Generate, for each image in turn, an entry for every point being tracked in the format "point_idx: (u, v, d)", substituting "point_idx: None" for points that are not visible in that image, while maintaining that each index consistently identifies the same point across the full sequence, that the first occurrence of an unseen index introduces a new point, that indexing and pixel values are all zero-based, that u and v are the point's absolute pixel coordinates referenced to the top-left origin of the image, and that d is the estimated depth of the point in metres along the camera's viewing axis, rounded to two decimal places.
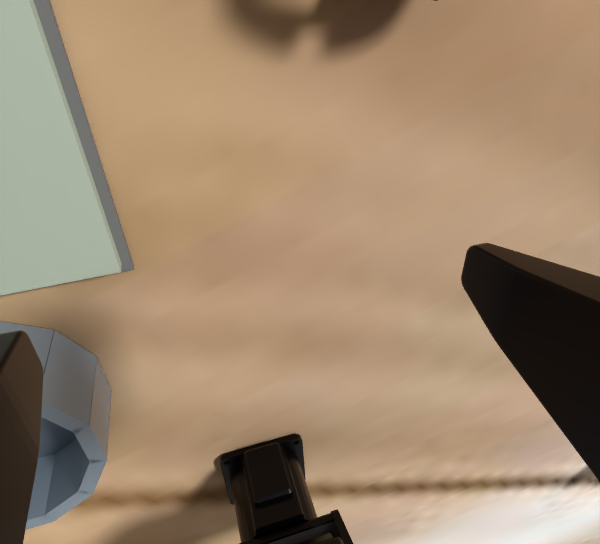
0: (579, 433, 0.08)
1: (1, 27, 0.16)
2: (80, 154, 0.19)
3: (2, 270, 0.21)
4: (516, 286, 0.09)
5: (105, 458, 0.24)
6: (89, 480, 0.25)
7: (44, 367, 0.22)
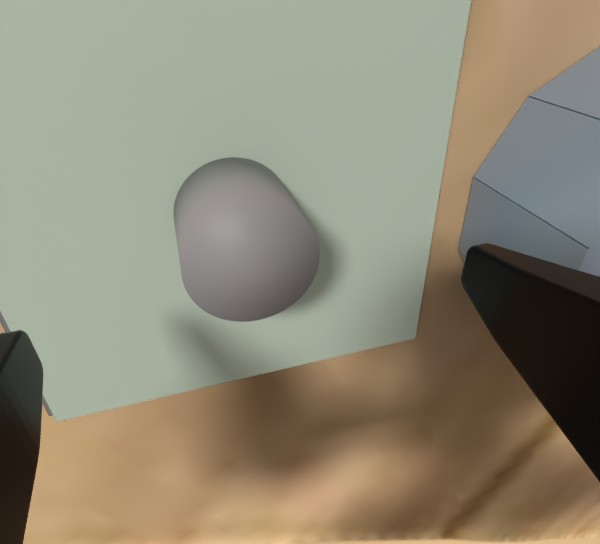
0: (579, 433, 0.08)
1: None
2: None
3: (409, 137, 0.13)
4: (516, 286, 0.09)
5: None
6: None
7: None
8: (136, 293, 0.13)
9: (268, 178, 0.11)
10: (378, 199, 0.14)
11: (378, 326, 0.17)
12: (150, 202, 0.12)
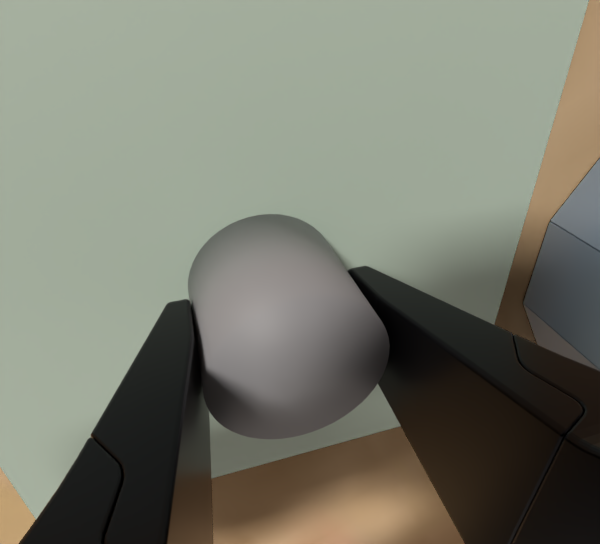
0: (438, 477, 0.07)
1: None
2: None
3: (489, 182, 0.10)
4: (379, 315, 0.08)
5: None
6: None
7: None
8: None
9: (317, 247, 0.08)
10: (444, 257, 0.11)
11: None
12: (158, 273, 0.09)
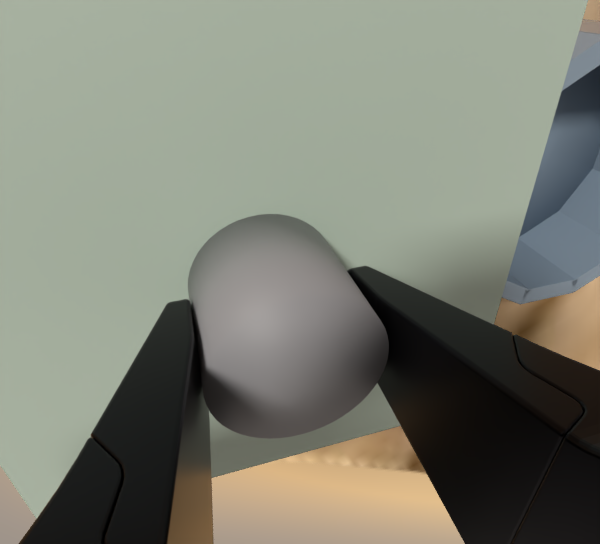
0: (438, 477, 0.07)
1: None
2: None
3: (488, 182, 0.10)
4: (379, 315, 0.08)
5: None
6: None
7: None
8: None
9: (316, 247, 0.08)
10: (443, 256, 0.11)
11: None
12: (158, 273, 0.09)
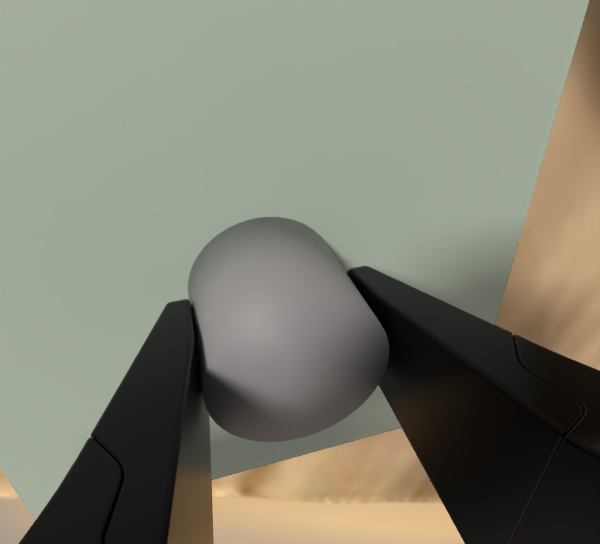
0: (438, 477, 0.07)
1: None
2: None
3: (488, 185, 0.10)
4: (379, 315, 0.08)
5: None
6: None
7: None
8: None
9: (317, 250, 0.08)
10: (443, 259, 0.11)
11: None
12: (158, 276, 0.09)
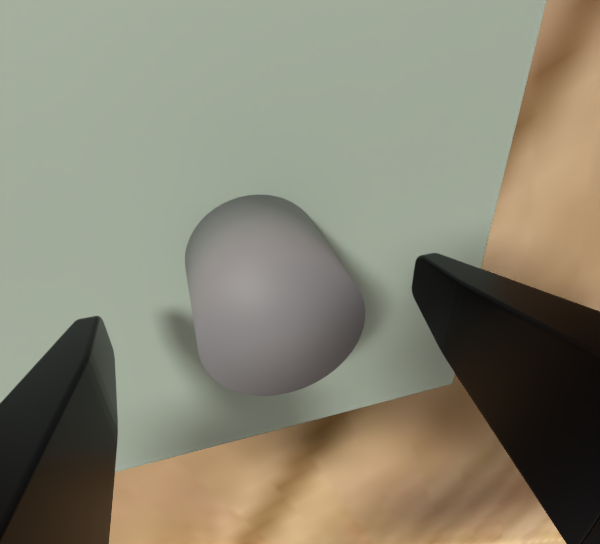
0: (519, 452, 0.08)
1: None
2: None
3: (461, 167, 0.11)
4: (458, 298, 0.08)
5: None
6: None
7: None
8: (140, 349, 0.11)
9: (301, 222, 0.09)
10: (421, 237, 0.12)
11: (413, 373, 0.15)
12: (157, 248, 0.10)
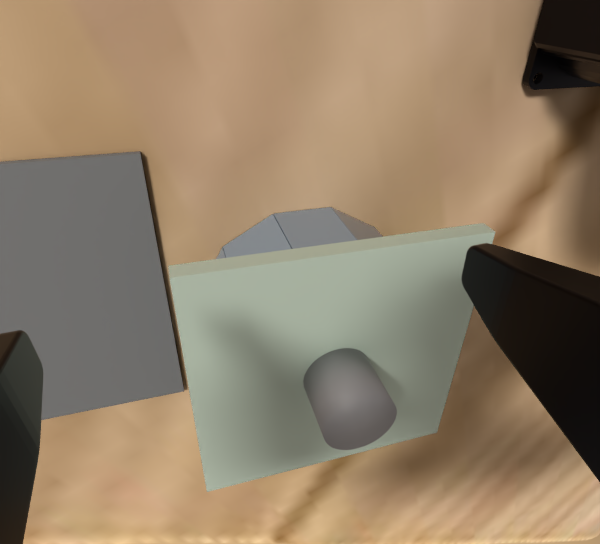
0: (579, 433, 0.08)
1: (229, 296, 0.17)
2: (356, 251, 0.17)
3: (444, 329, 0.21)
4: (516, 286, 0.09)
5: None
6: None
7: None
8: (273, 418, 0.21)
9: (366, 367, 0.19)
10: (422, 360, 0.22)
11: (414, 426, 0.25)
12: (292, 373, 0.20)
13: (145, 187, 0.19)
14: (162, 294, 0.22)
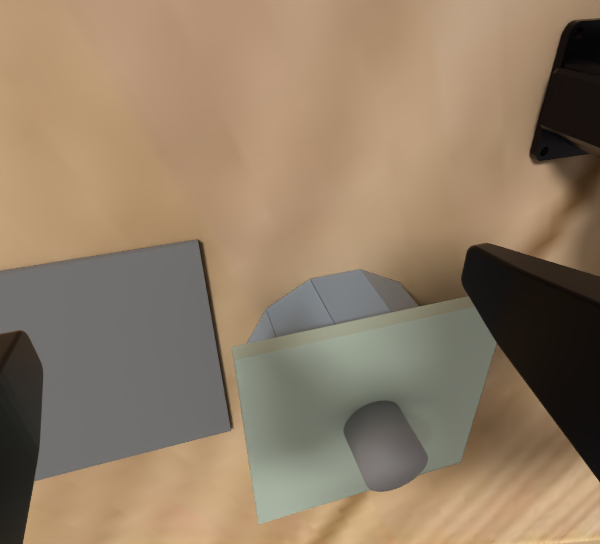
0: (579, 433, 0.08)
1: (283, 369, 0.19)
2: (390, 325, 0.20)
3: (466, 378, 0.24)
4: (516, 286, 0.09)
5: None
6: None
7: None
8: (316, 461, 0.24)
9: (399, 419, 0.22)
10: (447, 404, 0.24)
11: (440, 459, 0.27)
12: (334, 424, 0.22)
13: (201, 268, 0.22)
14: (214, 352, 0.25)
